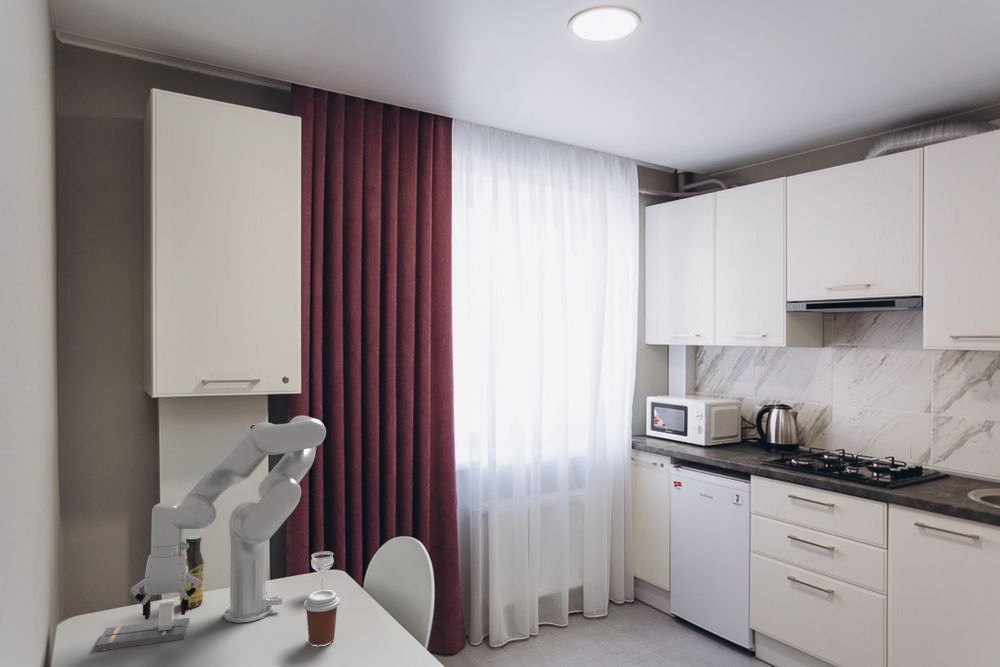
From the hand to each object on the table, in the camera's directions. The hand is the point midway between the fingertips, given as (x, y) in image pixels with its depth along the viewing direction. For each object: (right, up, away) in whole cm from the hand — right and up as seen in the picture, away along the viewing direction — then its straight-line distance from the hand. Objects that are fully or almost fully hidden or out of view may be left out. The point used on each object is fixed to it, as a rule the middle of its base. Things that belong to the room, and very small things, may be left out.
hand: (165, 615), depth 165 cm
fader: (0, -3, 0) cm, 3 cm away
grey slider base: (-5, -5, -2) cm, 7 cm away
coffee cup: (+43, -5, -4) cm, 43 cm away
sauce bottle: (-2, -5, +18) cm, 19 cm away
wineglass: (+34, -6, +27) cm, 44 cm away
